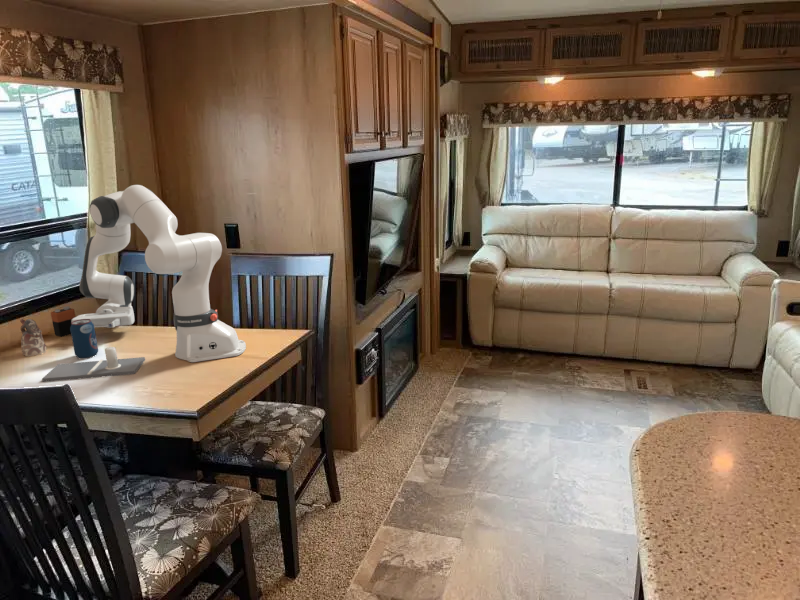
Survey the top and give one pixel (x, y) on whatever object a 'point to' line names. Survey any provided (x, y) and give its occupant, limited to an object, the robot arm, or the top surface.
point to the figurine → (31, 339)
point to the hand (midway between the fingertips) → (96, 326)
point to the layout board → (95, 367)
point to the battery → (62, 320)
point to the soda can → (84, 338)
